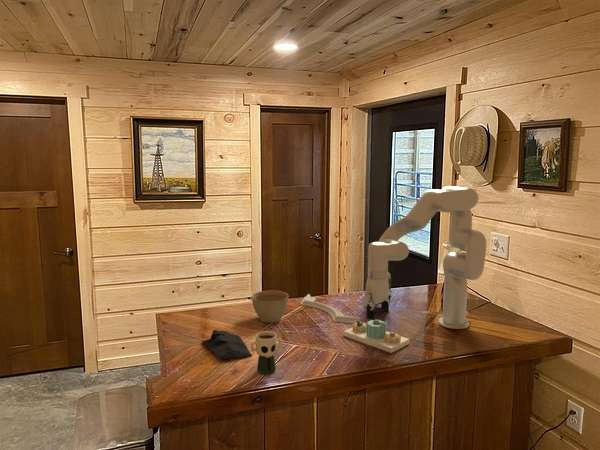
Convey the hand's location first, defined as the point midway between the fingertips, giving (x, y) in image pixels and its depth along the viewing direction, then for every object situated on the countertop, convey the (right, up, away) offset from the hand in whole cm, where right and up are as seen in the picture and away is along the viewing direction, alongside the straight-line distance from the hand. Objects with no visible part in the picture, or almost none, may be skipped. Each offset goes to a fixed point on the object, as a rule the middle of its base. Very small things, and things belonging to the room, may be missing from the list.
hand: (377, 315), depth 187 cm
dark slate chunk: (-59, -12, -7) cm, 60 cm away
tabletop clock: (+7, -4, +37) cm, 38 cm away
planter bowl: (-44, -6, +24) cm, 50 cm away
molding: (-17, -5, +36) cm, 40 cm away
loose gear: (-1, -8, +1) cm, 8 cm away
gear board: (-1, -10, +1) cm, 10 cm away
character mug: (-42, -14, -25) cm, 51 cm away
